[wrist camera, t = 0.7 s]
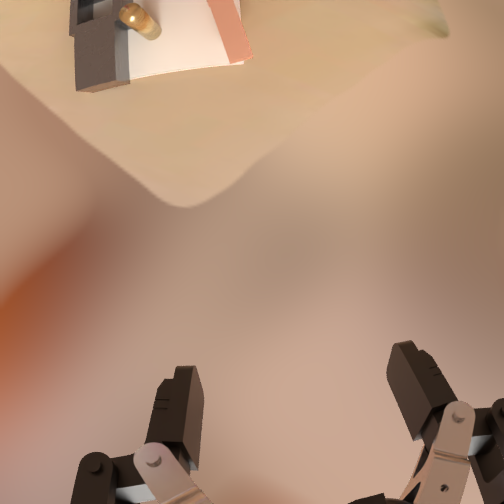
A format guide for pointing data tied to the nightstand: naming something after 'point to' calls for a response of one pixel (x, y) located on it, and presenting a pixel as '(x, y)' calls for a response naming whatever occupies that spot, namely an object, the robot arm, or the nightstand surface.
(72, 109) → the nightstand surface
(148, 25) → the cylinder
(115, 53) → the link
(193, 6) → the board
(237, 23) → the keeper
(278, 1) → the nightstand surface
